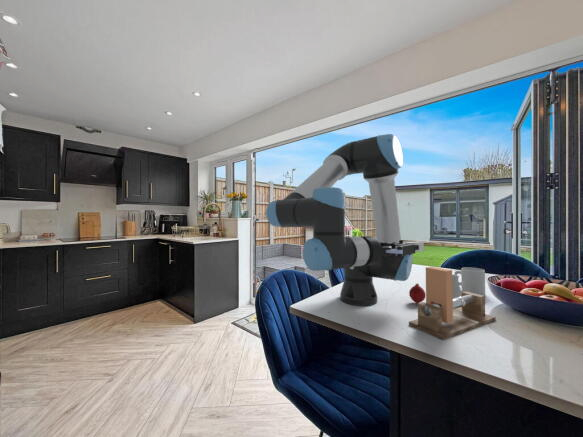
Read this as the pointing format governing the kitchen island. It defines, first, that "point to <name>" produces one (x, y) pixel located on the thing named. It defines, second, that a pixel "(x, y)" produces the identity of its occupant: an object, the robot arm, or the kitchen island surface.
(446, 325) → the rig board
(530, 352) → the kitchen island surface
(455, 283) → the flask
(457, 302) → the pipe
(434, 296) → the upright wooden plank
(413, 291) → the onion
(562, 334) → the kitchen island surface
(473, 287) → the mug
